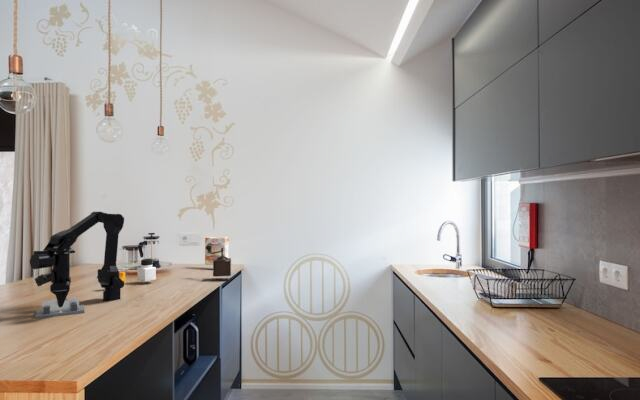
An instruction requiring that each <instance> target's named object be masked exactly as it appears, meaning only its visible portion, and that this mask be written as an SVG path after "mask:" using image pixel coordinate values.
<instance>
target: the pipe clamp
mask: <svg viewBox="0 0 640 400" xmlns="http://www.w3.org/2000/svg"><path fill="white" fill-rule="evenodd" d="M119 278H120V279H121V280H122V281H123V282H124V283H125V284H126V271H119Z"/></svg>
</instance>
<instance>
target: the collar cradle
mask: <svg viewBox="0 0 640 400" xmlns="http://www.w3.org/2000/svg"><path fill="white" fill-rule="evenodd" d="M84 313H85V304H79V309H77V304H71V310H65V311H57V312H50V307H44V308H43V312H42V309H37V310H36V313H35V316H34V319H37V320H38V319H43V318H45V319H46V318H52V317H62V316H68V315H78V314H84Z"/></svg>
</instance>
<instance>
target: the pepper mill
mask: <svg viewBox="0 0 640 400" xmlns="http://www.w3.org/2000/svg"><path fill="white" fill-rule="evenodd" d="M211 248H212V246H211V245H207V246H206V249H207V250H208V253H210V254H214V253H219V252H221V256H220V257H218V258H217V259H214V260H213V265H212V277H215V278H216V277H231V275H232V258H231V257H230V258H227V257H225V256H223V248H221V251H218V252H212V250H211ZM211 252H212V253H211Z"/></svg>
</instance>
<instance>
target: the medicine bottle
mask: <svg viewBox="0 0 640 400" xmlns="http://www.w3.org/2000/svg"><path fill="white" fill-rule="evenodd" d="M153 265H154V262H153V259H152V258H143V259H141V260H140V267H137V281H139V282H145V283H146V282H150V281H156V280H157V267H156V266H153Z"/></svg>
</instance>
